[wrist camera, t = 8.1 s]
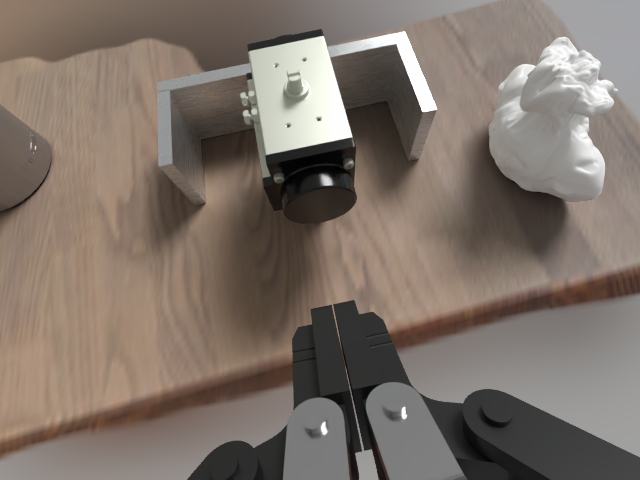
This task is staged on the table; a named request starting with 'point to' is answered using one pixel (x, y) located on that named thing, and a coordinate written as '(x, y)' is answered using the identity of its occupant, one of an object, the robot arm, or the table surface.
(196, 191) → the cradle
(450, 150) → the table surface
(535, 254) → the table surface
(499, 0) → the table surface
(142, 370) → the table surface
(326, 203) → the pneumatic valve
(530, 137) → the bust
